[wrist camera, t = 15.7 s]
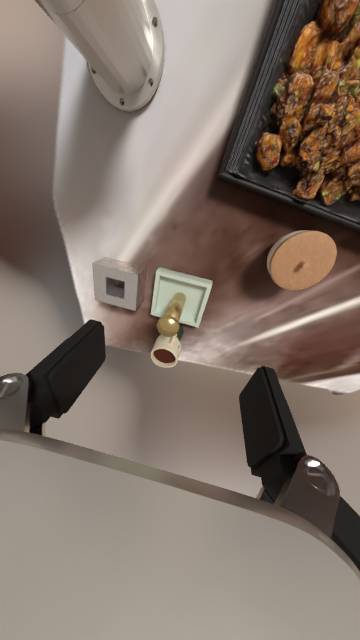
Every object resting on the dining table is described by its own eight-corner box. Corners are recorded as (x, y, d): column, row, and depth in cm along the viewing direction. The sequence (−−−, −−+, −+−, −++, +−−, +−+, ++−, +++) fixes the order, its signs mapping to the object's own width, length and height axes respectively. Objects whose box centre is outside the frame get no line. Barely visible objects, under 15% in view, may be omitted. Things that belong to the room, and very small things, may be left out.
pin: (173, 288, 46) (158, 315, 35) (189, 293, 46) (180, 321, 34) (170, 303, 49) (155, 333, 37) (186, 307, 49) (176, 339, 37)
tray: (159, 267, 45) (156, 270, 42) (212, 280, 45) (212, 285, 42) (153, 309, 52) (150, 314, 50) (199, 321, 52) (198, 327, 49)
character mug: (176, 345, 58) (167, 376, 47) (157, 335, 57) (143, 365, 46) (191, 321, 52) (186, 351, 41) (170, 310, 51) (158, 337, 41)
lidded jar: (263, 282, 43) (274, 299, 35) (259, 236, 38) (270, 243, 30) (314, 271, 40) (339, 286, 32) (317, 219, 35) (347, 222, 27)
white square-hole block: (105, 257, 46) (92, 262, 41) (146, 267, 46) (138, 274, 41) (106, 291, 51) (95, 300, 46) (143, 300, 51) (135, 310, 46)
